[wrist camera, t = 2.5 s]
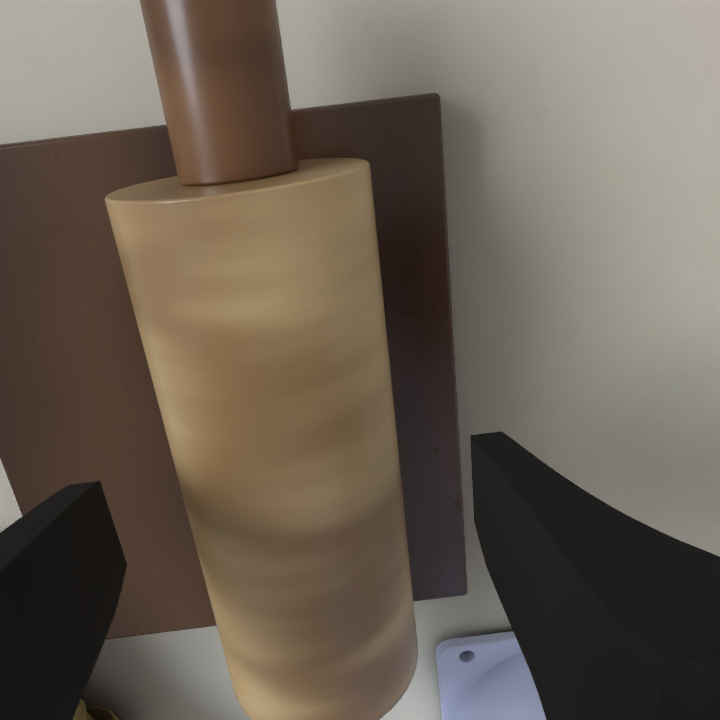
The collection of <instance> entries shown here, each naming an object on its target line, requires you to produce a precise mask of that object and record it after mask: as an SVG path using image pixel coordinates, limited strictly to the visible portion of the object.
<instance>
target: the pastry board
mask: <svg viewBox="0 0 720 720" xmlns="http://www.w3.org/2000/svg"><path fill="white" fill-rule="evenodd" d="M291 113H292V120H293V127H294V134H295V141H296V148H297V155H298V160H304V159H320V158H357V159H363V160H366V161H368V162H369V164H370V171H371V181H372V191H373V201H374V211H375V221H376V231H377V241H378V251H379V261H380V271H381V281H382V291H383V301H384V311H385V321H386V331H387V341H388V351H389V362H390V372H391V382H392V392H393V402H394V412H395V422H396V432H397V442H398V452H399V462H400V472H401V482H402V492H403V502H404V512H405V522H406V532H407V542H408V553H409V563H410V573H411V583H412V593H413V601H420V600H429V599H437V598H445V597H453V596H461V595H466V594H467V573H466V555H465V537H464V519H463V501H462V483H461V465H460V447H459V429H458V411H457V393H456V375H455V357H454V339H453V320H452V302H451V284H450V266H449V248H448V230H447V212H446V194H445V176H444V158H443V140H442V122H441V104H440V96H439V94H437V93H429V94H420V95H411V96H403V97H395V98H386V99H378V100H370V101H361V102H353V103H344V104H336V105H328V106H319V107H311V108H303V109H294V110H291ZM174 176H178V175H177V171H176V166H175V161H174V157H173V152H172V147H171V143H170V138H169V133H168V129H167V125H160V126H152V127H144V128H135V129H127V130H118V131H110V132H102V133H93V134H85V135H77V136H68V137H60V138H51V139H43V140H35V141H26V142H18V143H10V144H1V145H0V459H1V461H2V464H3V466H4V469H5V471H6V474H7V477H8V479H9V482H10V484H11V487H12V489H13V492H14V495H15V497H16V500H17V502H18V505H19V507H20V510H21V513H22V515H23V516H24V515H25V514H27V513H28V512H29V511H31V510H32V509H33V508H35V507H36V506H37V505H39V504H40V503H42V502H43V501H44V500H46V499H47V498H49V497H50V496H52V495H53V494H54V493H56V492H58V491H59V490H61V489H62V488H64V487H66V486H67V485H70V484H78V483H87V482H95V481H100V482H101V485H102V488H103V491H104V494H105V498H106V501H107V504H108V507H109V510H110V513H111V516H112V519H113V522H114V525H115V529H116V532H117V535H118V538H119V541H120V544H121V547H122V550H123V553H124V556H125V559H126V563H127V568H126V572H125V577H124V581H123V585H122V590H121V594H120V597H119V601H118V605H117V609H116V612H115V615H114V618H113V620H112V623H111V626H110V628H109V631H108V633H107V636H106V638H105V639H112V638H120V637H129V636H137V635H145V634H153V633H161V632H169V631H177V630H185V629H193V628H202V627H210V626H217V624H216V621H215V617H214V613H213V609H212V605H211V602H210V598H209V594H208V590H207V586H206V583H205V579H204V575H203V571H202V567H201V564H200V560H199V556H198V552H197V548H196V545H195V541H194V537H193V533H192V529H191V526H190V522H189V518H188V514H187V510H186V507H185V503H184V499H183V495H182V491H181V488H180V484H179V480H178V476H177V472H176V469H175V465H174V461H173V457H172V454H171V450H170V446H169V442H168V438H167V435H166V431H165V427H164V423H163V419H162V416H161V412H160V408H159V404H158V400H157V397H156V393H155V389H154V385H153V381H152V378H151V374H150V370H149V366H148V362H147V359H146V355H145V351H144V347H143V343H142V340H141V336H140V332H139V328H138V324H137V321H136V317H135V313H134V309H133V305H132V302H131V298H130V294H129V290H128V286H127V283H126V279H125V275H124V271H123V267H122V264H121V260H120V256H119V252H118V248H117V245H116V241H115V237H114V233H113V230H112V226H111V222H110V218H109V214H108V211H107V207H106V203H105V197H106V196H107V195H108V194H110V193H112V192H114V191H116V190H119V189H122V188H125V187H129V186H133V185H137V184H141V183H145V182H149V181H154V180H159V179H164V178H169V177H174Z"/></svg>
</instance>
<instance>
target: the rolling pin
mask: <svg viewBox="0 0 720 720" xmlns="http://www.w3.org/2000/svg"><path fill="white" fill-rule="evenodd" d="M140 4H141V8H142V13H143V18H144V22H145V27H146V32H147V36H148V41H149V45H150V50H151V55H152V59H153V64H154V69H155V73H156V78H157V83H158V87H159V92H160V96H161V101H162V106H163V110H164V115H165V120H166V124H167V129H168V133H169V138H170V143H171V147H172V152H173V157H174V161H175V166H176V171H177V175H178V176H174V177H169V178H164V179H159V180H154V181H149V182H145V183H141V184H137V185H133V186H129V187H125V188H122V189H119V190H116V191H114V192H112V193H110V194H108V195H107V196H106V197H105V203H106V207H107V211H108V214H109V218H110V222H111V226H112V230H113V233H114V237H115V241H116V245H117V248H118V252H119V256H120V260H121V264H122V267H123V271H124V275H125V279H126V283H127V286H128V290H129V294H130V298H131V302H132V305H133V309H134V313H135V317H136V321H137V324H138V328H139V332H140V336H141V340H142V343H143V347H144V351H145V355H146V359H147V362H148V366H149V370H150V374H151V378H152V381H153V385H154V389H155V393H156V397H157V400H158V404H159V408H160V412H161V416H162V419H163V423H164V427H165V431H166V435H167V438H168V442H169V446H170V450H171V454H172V457H173V461H174V465H175V469H176V472H177V476H178V480H179V484H180V488H181V491H182V495H183V499H184V503H185V507H186V510H187V514H188V518H189V522H190V526H191V529H192V533H193V537H194V541H195V545H196V548H197V552H198V556H199V560H200V564H201V567H202V571H203V575H204V579H205V583H206V586H207V590H208V594H209V598H210V602H211V605H212V609H213V613H214V617H215V621H216V624H217V628H218V632H219V636H220V640H221V643H222V647H223V651H224V655H225V659H226V662H227V666H228V670H229V674H230V678H231V681H232V685H233V689H234V692H235V695H236V698H237V700H238V702H239V704H240V706H241V708H242V709H243V710H244V712H245V713H246V714H247V715H248V716H249V717H250V718H251V719H252V720H379V719H380V718H382V717H383V716H384V715H385V714H386V713H388V712H389V711H390V710H391V709H392V708H393V707H394V706H395V705H396V704H397V702H398V701H399V700H400V699H401V697H402V696H403V694H404V693H405V692H406V690H407V688H408V686H409V684H410V682H411V680H412V678H413V675H414V672H415V669H416V665H417V659H418V643H417V633H416V623H415V613H414V603H413V593H412V583H411V573H410V563H409V553H408V542H407V532H406V522H405V512H404V502H403V492H402V482H401V472H400V462H399V452H398V442H397V432H396V422H395V412H394V402H393V392H392V382H391V372H390V362H389V351H388V341H387V331H386V321H385V311H384V301H383V291H382V281H381V271H380V261H379V251H378V241H377V231H376V221H375V211H374V201H373V191H372V181H371V171H370V164H369V162H368V161H366V160H363V159H357V158H320V159H304V160H298V155H297V148H296V141H295V134H294V127H293V120H292V113H291V106H290V99H289V92H288V85H287V78H286V70H285V63H284V56H283V49H282V42H281V35H280V28H279V21H278V14H277V7H276V0H140Z"/></svg>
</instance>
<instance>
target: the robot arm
mask: <svg viewBox="0 0 720 720" xmlns="http://www.w3.org/2000/svg"><path fill="white" fill-rule="evenodd" d="M470 439H471V460H472V481H473V503H474V522H475V526H476V530H477V534H478V537H479V541H480V545H481V548H482V552H483V555H484V559H485V563H486V566H487V569H488V571H489V574H490V576H491V579H492V581H493V584H494V586H495V588H496V591H497V593H498V596H499V598H500V601H501V603H502V605H503V608H504V610H505V613H506V615H507V617H508V620H509V622H510V624H511V627H512V629H513V631H510V632H502V633H494V634H486V635H478V636H470V637H462V638H454V639H448V640H444V641H443V642H441V643H440V644H439V645H438V646H437V648H436V660H437V672H438V684H439V695H440V707H441V719H442V720H720V557H719V556H716V555H714V554H712V553H709V552H707V551H704V550H702V549H699V548H697V547H694V546H692V545H689V544H687V543H684V542H682V541H679V540H677V539H675V538H673V537H670V536H668V535H666V534H664V533H661V532H659V531H657V530H655V529H653V528H651V527H649V526H647V525H645V524H643V523H641V522H639V521H637V520H635V519H633V518H631V517H629V516H627V515H625V514H624V513H622V512H620V511H618V510H616V509H614V508H613V507H611V506H609V505H607V504H606V503H604V502H602V501H601V500H599V499H598V498H596V497H594V496H593V495H591V494H589V493H588V492H586V491H584V490H583V489H581V488H580V487H578V486H577V485H575V484H574V483H572V482H570V481H569V480H567V479H566V478H565V477H563V476H562V475H560V474H559V473H557V472H556V471H554V470H553V469H552V468H550V467H549V466H547V465H546V464H545V463H543V462H542V461H541V460H539V459H538V458H536V457H535V456H534V455H532V454H531V453H530V452H528V451H527V450H526V449H524V448H523V447H522V446H521V445H519V444H518V443H517V442H515V441H514V440H513V439H511V438H510V437H509V436H507V435H506V434H505V433H503V432H494V433H485V434H477V435H470ZM126 568H127V563H126V559H125V556H124V553H123V550H122V547H121V544H120V541H119V538H118V535H117V532H116V529H115V525H114V522H113V519H112V516H111V513H110V510H109V507H108V504H107V501H106V498H105V494H104V491H103V488H102V485H101V482H100V481H95V482H87V483H78V484H70V485H67V486H66V487H64V488H62V489H61V490H59V491H58V492H56V493H54V494H53V495H52V496H50V497H49V498H47V499H46V500H44V501H43V502H42V503H40V504H39V505H37V506H36V507H35V508H33V509H32V510H31V511H29V512H28V513H27V514H25V515H24V516H22V517H21V518H20V519H18V520H17V521H16V522H14V523H13V524H12V525H10V526H9V527H8V528H6V529H5V530H4V531H2V532H1V533H0V720H72V719H73V717H74V714H75V712H76V710H77V707H78V705H79V702H80V700H81V697H82V695H83V692H84V690H85V688H86V685H87V683H88V680H89V678H90V675H91V673H92V670H93V668H94V666H95V663H96V661H97V658H98V656H99V653H100V651H101V648H102V646H103V643H104V641H105V638H106V636H107V633H108V631H109V628H110V626H111V623H112V620H113V618H114V615H115V612H116V609H117V605H118V601H119V597H120V594H121V590H122V585H123V581H124V577H125V572H126ZM464 651H469V652H466V653H462V652H464Z"/></svg>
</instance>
